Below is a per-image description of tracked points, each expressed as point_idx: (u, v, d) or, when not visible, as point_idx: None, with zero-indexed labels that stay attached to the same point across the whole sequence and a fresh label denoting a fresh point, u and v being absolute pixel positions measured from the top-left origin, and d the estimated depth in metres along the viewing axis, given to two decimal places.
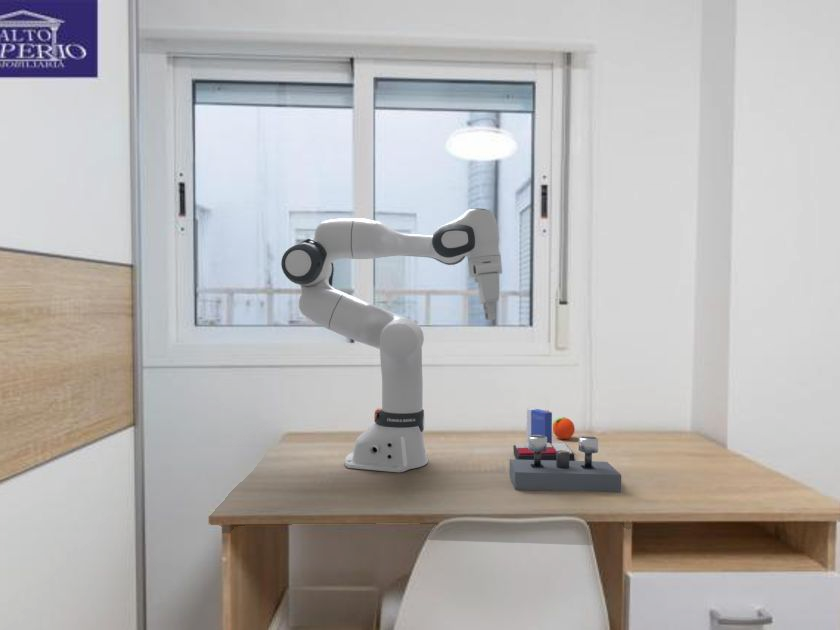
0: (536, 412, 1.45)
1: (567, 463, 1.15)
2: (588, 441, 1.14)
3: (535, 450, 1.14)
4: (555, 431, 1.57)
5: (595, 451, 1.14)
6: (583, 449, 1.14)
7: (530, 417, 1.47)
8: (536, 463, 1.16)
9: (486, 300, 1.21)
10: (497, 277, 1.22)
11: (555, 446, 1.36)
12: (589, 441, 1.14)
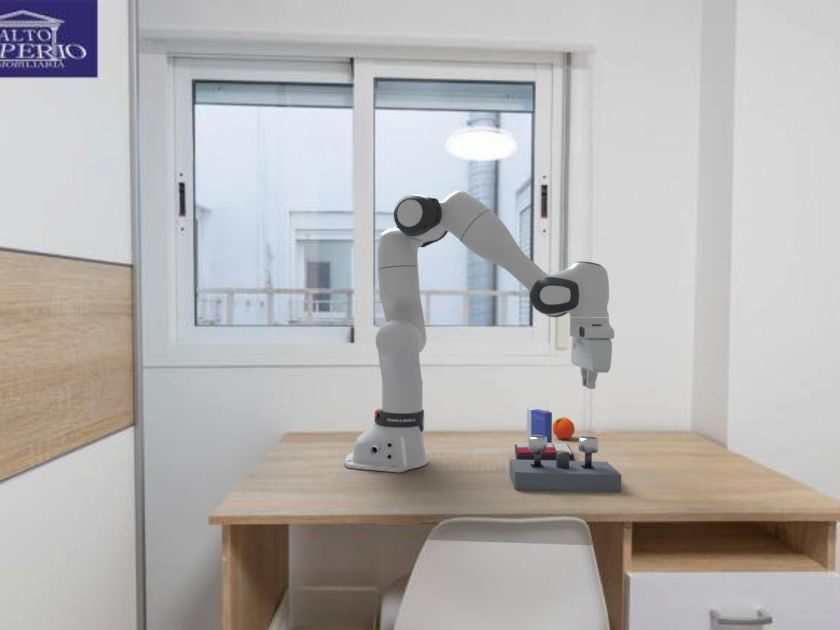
0: (536, 412, 1.45)
1: (567, 463, 1.15)
2: (588, 441, 1.14)
3: (535, 450, 1.14)
4: (555, 431, 1.57)
5: (595, 451, 1.14)
6: (583, 449, 1.14)
7: (530, 417, 1.47)
8: (536, 463, 1.16)
9: (595, 370, 1.06)
10: (610, 345, 1.06)
11: (556, 446, 1.36)
12: (589, 441, 1.14)
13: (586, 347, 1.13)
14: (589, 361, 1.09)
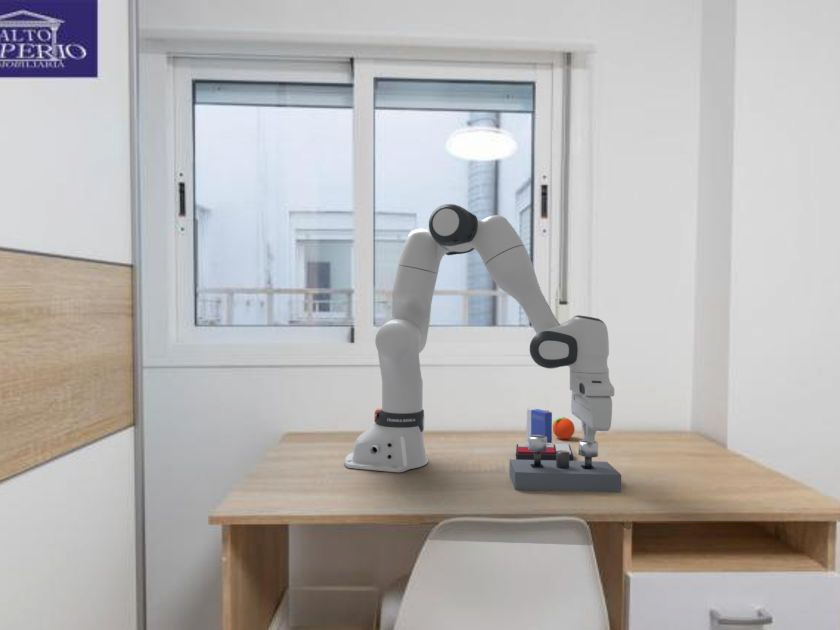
0: (536, 412, 1.45)
1: (567, 463, 1.15)
2: (588, 445, 1.14)
3: (535, 450, 1.14)
4: (555, 431, 1.57)
5: (595, 455, 1.14)
6: (583, 453, 1.14)
7: (530, 417, 1.47)
8: (536, 463, 1.16)
9: (595, 429, 1.06)
10: (610, 404, 1.06)
11: (557, 446, 1.36)
12: (589, 445, 1.14)
13: (586, 402, 1.13)
14: (589, 418, 1.09)
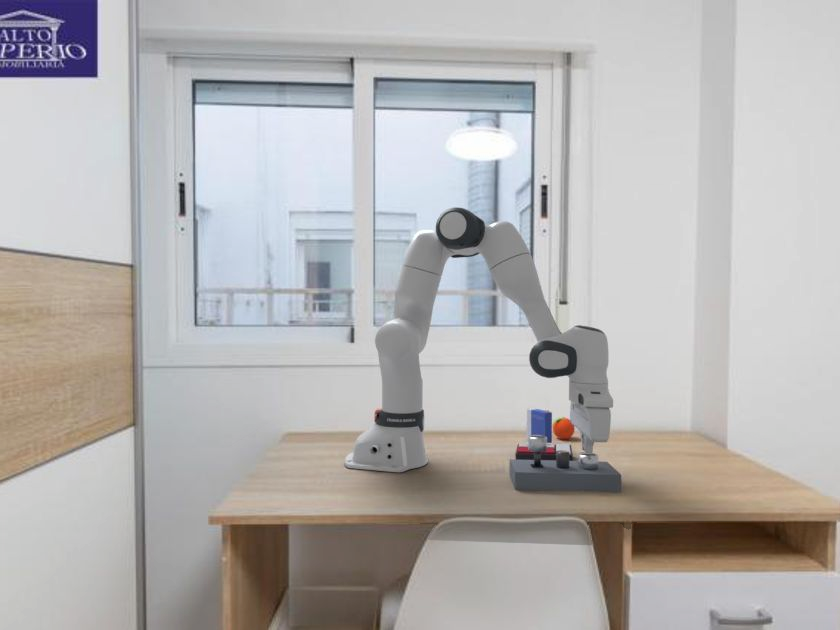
0: (536, 412, 1.45)
1: (567, 463, 1.15)
2: (588, 458, 1.14)
3: (535, 450, 1.14)
4: (555, 431, 1.57)
5: (595, 468, 1.14)
6: (583, 466, 1.14)
7: (530, 417, 1.47)
8: (536, 463, 1.16)
9: (593, 440, 1.06)
10: (609, 415, 1.06)
11: (557, 446, 1.36)
12: (589, 458, 1.14)
13: (585, 413, 1.13)
14: (588, 429, 1.09)
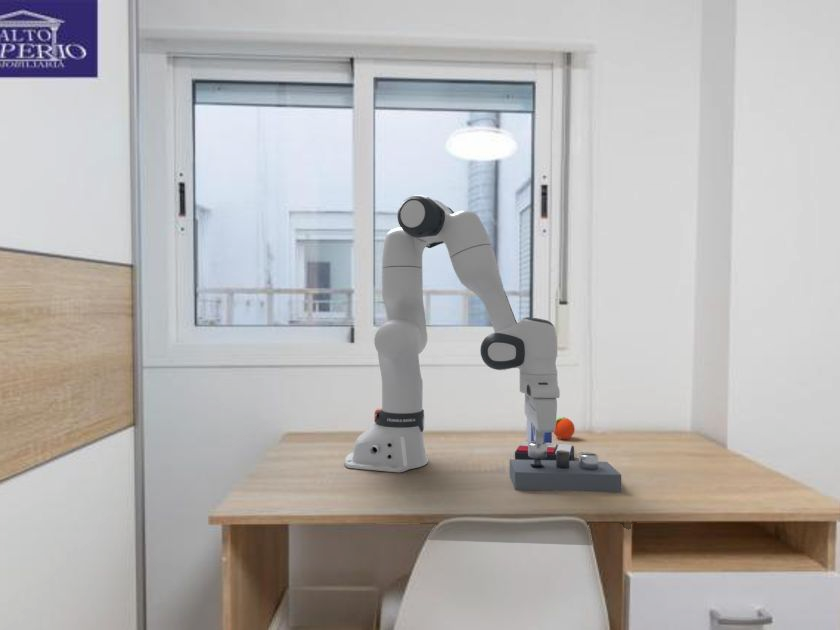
0: None
1: (567, 463, 1.15)
2: (588, 458, 1.14)
3: (535, 456, 1.14)
4: (555, 431, 1.57)
5: (595, 468, 1.14)
6: (583, 466, 1.14)
7: None
8: None
9: (540, 430, 1.07)
10: (555, 405, 1.07)
11: (559, 447, 1.36)
12: (589, 458, 1.14)
13: None
14: (536, 420, 1.10)
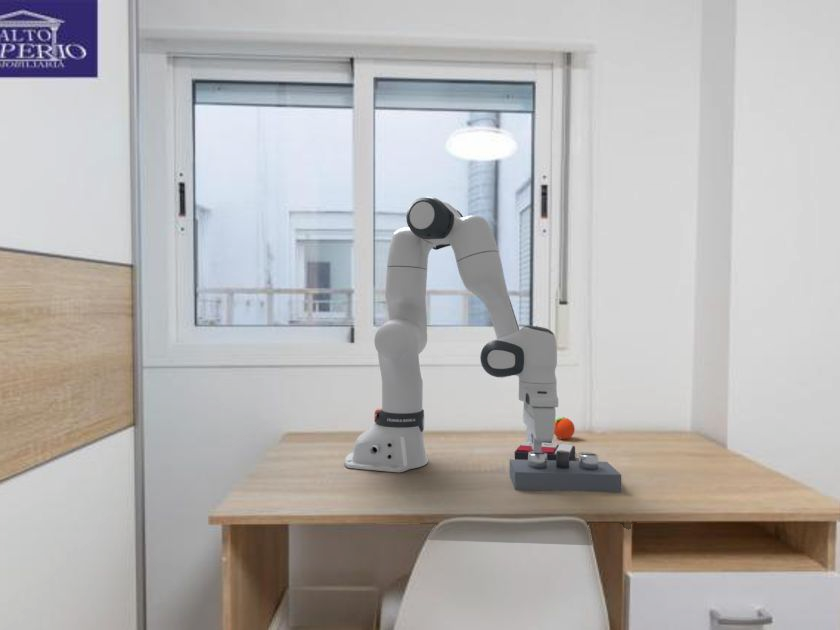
0: None
1: (567, 463, 1.15)
2: (588, 458, 1.14)
3: (535, 467, 1.14)
4: (555, 431, 1.57)
5: (595, 468, 1.14)
6: (583, 466, 1.14)
7: None
8: None
9: (538, 439, 1.07)
10: (553, 415, 1.07)
11: (559, 447, 1.35)
12: (589, 458, 1.14)
13: (533, 412, 1.13)
14: (534, 428, 1.10)
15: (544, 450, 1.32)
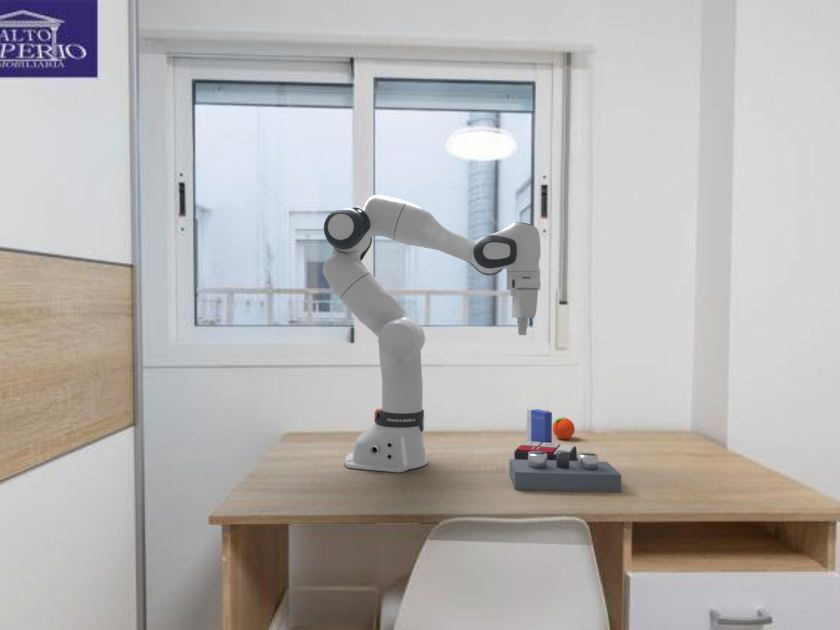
0: (536, 412, 1.45)
1: (567, 463, 1.15)
2: (588, 458, 1.14)
3: (535, 467, 1.14)
4: (555, 431, 1.57)
5: (595, 468, 1.14)
6: (583, 466, 1.14)
7: (530, 417, 1.47)
8: None
9: (522, 316, 1.21)
10: (536, 294, 1.21)
11: (560, 447, 1.35)
12: (589, 458, 1.14)
13: None
14: (519, 309, 1.24)
15: (544, 450, 1.32)
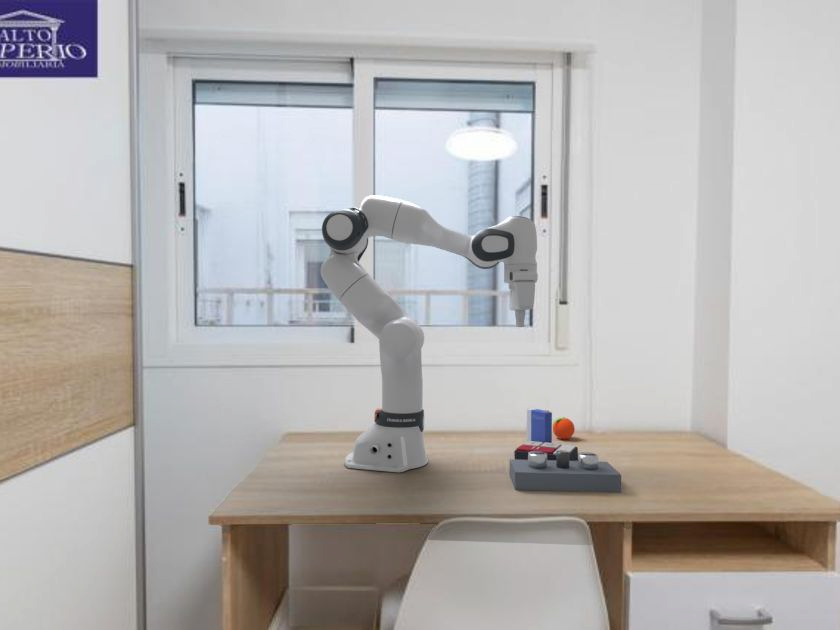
0: (536, 412, 1.45)
1: (567, 463, 1.15)
2: (588, 458, 1.14)
3: (535, 467, 1.14)
4: (555, 431, 1.57)
5: (595, 468, 1.14)
6: (583, 466, 1.14)
7: (530, 417, 1.47)
8: None
9: (520, 307, 1.23)
10: (533, 286, 1.23)
11: (560, 447, 1.35)
12: (589, 458, 1.14)
13: None
14: (517, 301, 1.26)
15: (543, 450, 1.32)
